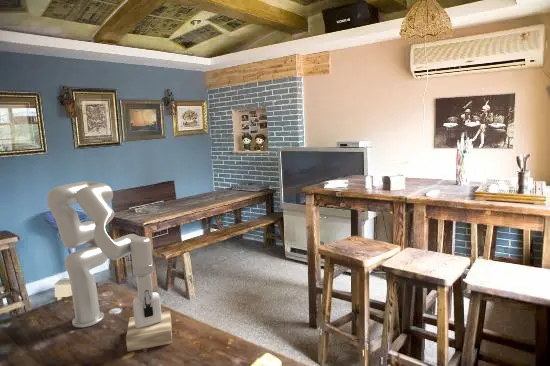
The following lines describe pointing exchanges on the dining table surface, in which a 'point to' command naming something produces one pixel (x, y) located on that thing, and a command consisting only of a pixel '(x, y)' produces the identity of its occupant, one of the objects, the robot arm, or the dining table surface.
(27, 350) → the dining table surface
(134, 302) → the photo printer
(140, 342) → the birch block
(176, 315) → the dining table surface
